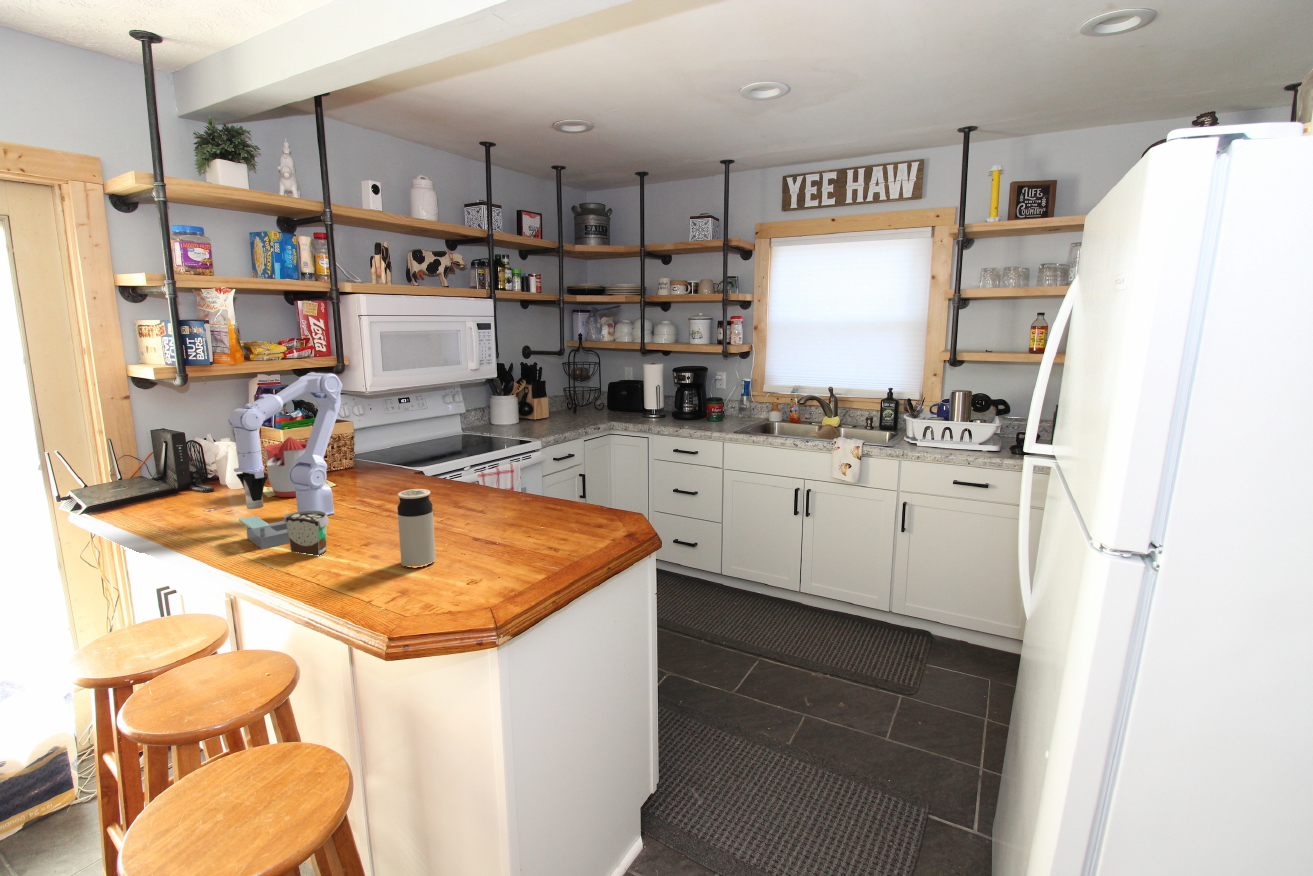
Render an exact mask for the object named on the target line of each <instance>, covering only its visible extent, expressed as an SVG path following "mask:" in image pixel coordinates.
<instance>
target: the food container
mask: <svg viewBox="0 0 1313 876" xmlns="http://www.w3.org/2000/svg"><path fill="white" fill-rule="evenodd" d="M328 516H329V515H326V513H325V512H322V511H300V512H298V511H296V512H295V511H294V512H290V513H286V514H284V517H283V521H284V522H286V527H287V533H288V538H289V543H288V544H289V548H290V553H292V552H297V553H296V554H298V552H299V553H306V554H313V555H319V556H320V555H322V554H324V553H325V552H326V553H327V525H328V524H329V523H330V520H329V517H328ZM326 553H325V554H326ZM325 554H324V555H325ZM322 556H323V555H322ZM320 557H321V556H320Z"/></svg>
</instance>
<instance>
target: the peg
mask: <svg viewBox="0 0 1313 876" xmlns="http://www.w3.org/2000/svg"><path fill="white" fill-rule="evenodd" d="M244 488H245V490H244V495H245V504H246V509H247V510H256V509H260V508H263V507H264V497H263V496H262V500H258V501H253V500H252V498H251V495H250V491H249V488H248V486H247V484H246V482H245V481H244V487H243V489H244Z"/></svg>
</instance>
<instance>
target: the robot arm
mask: <svg viewBox="0 0 1313 876" xmlns="http://www.w3.org/2000/svg"><path fill="white" fill-rule="evenodd" d="M342 389H343V383H342V381H341V380H340V378H339V377H338V376H337V375H336V374H334V373H322V372H312V371H311V372H309V373H306V374H305V375H303V376H299V378H298V380H296V381H293V383H291V384H290V385H288V386H287V387H284V389H282V390H280V391H279V392H277V393H275V394H273V393H272V394H271V393H262V394H261V395H260V396H259V397H260V398H258V399H257V400H255V401H252V402H251V403H248V402H247V403H246V404H245V407H244V408H236V409H235V410H233V411H232V412H231V414H230V415H229V419H227V422H228V424H229V426H230V427H231V428H232V429H233V433H234V439H235V447H236V448H235V449H236V456H237V457H236V458H237V463H238V467H235V468H233V472H235V473H237V474H236V477H237V478H238V479H239V481H240V483H241V485H242V487H243V490H244V491H245V488H244V481H245V482H246V484H247V486H248V488H249V491H250V495H251V498H252V500H253V501H258V500H262V497H263V493H264V488H265V484H266V481H267V480H268V479H269V478H268V474H264V470H265V466H264V465H263V455H262V447H261V446H262V445H261V438H260V428H261V427H262V425H263V423H264V422H265V421H267V420H268V419H271V418H272V417H273V416H275V415H276V414H278V413H280V412H282V410H283V407H284V406H283V405H285V404H287V403H289V402H290V401H293V400H295V399H297V398H298V397H300V396H303V395H305V394H306V393H308V394H309V395H310V396H311V397H313V398H314V400H316V402H317V403H318V405H319V407H318V411H317V413H316V416H315V419H314V422H313V426H312V428H311V432H310V435H309V437H308V440H307V442H308V443H307V446H306V449H305V452H304V454H303V455H302V456H300V457H299V458H298V459H297V460H296V462H295V464H294V466H293V467H292V468H291V469H290V471H289V479H290V481H291V482H292V483H293V484H294V487H295V490H296V497H295V499H296V509H297V512H300V511H322V512H325V513H326V515H327V516H330V515H334V514H336V512H335V507H334V498H333V497H334V496H333V491H332V487H331V486H330V485H329V484H328V483H327V484H325V483H326V480H327V469H328V464H327V462H326V461H325V459H324V458H325V454H326V451H327V448H328V445H329V442H330V440H331V437H332V433H333V431H334V427H335V423H336V421H337V418H338V414H339V411H340V408H341V405H342V401H341V400H342V399H341V397H342V396H341V392H342Z"/></svg>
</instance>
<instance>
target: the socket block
mask: <svg viewBox="0 0 1313 876" xmlns="http://www.w3.org/2000/svg"><path fill="white" fill-rule="evenodd" d="M238 521H239V522H240V523H242V524H243V525H244V526H246V527H247V528H246V536H247V538H246V539H247V540H248V541H250V542H251V543H253V544H254V545H256V546H257V547H258V546H259V547H258V548H259V549H261V550H265V549H269V547H270V548H274V547H277V546H282V545H285V544H286V545H287V544H290V543H289V538H288V533H287V527H286V522H284V520H280V521H275V522H271V523H268V522H266V521H265V520H263V519H262V518H260V517H259V516H257V515H252V516H248V517H241V518H239V519H238Z"/></svg>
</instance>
